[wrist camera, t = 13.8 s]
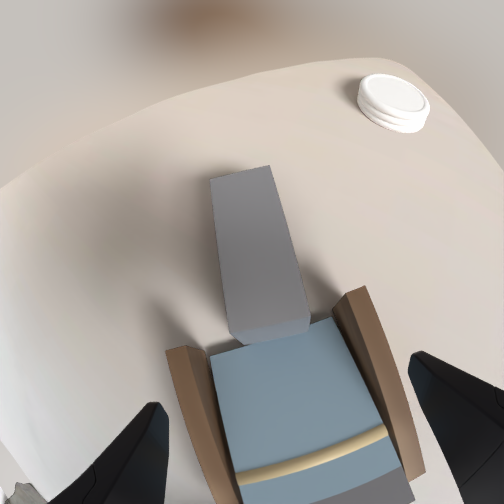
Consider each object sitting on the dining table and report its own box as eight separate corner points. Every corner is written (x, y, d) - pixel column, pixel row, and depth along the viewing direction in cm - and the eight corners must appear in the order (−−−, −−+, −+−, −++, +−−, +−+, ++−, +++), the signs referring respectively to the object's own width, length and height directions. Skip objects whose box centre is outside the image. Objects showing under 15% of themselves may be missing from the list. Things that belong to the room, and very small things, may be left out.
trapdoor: (267, 544, 11) (259, 554, 9) (220, 370, 23) (208, 355, 21) (402, 498, 12) (416, 500, 10) (330, 334, 24) (331, 315, 21)
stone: (311, 316, 17) (269, 165, 22) (229, 333, 17) (209, 179, 23) (308, 331, 21) (274, 201, 27) (244, 345, 21) (223, 213, 27)
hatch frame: (246, 522, 15) (239, 550, 11) (187, 355, 22) (165, 350, 18) (403, 469, 16) (428, 486, 11) (348, 302, 23) (365, 285, 18)
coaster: (346, 89, 34) (349, 70, 31) (404, 92, 34) (409, 75, 31) (372, 134, 30) (378, 113, 27) (434, 136, 30) (443, 118, 27)
